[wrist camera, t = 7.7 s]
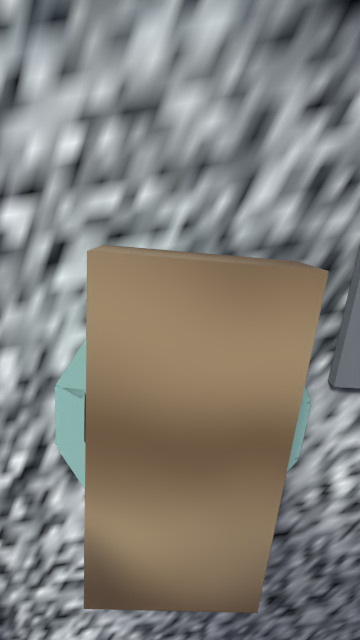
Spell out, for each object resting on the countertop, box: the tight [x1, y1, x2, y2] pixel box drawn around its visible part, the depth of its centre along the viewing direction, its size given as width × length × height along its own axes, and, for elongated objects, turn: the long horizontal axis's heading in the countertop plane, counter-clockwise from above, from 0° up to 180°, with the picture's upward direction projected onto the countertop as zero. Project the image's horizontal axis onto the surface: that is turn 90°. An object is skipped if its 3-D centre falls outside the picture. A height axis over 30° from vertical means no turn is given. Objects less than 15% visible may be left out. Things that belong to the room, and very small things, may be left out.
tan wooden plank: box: [84, 245, 329, 613], centre depth 11 cm, size 12×6×2 cm, turn 175°
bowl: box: [55, 340, 311, 488], centre depth 14 cm, size 9×9×4 cm
